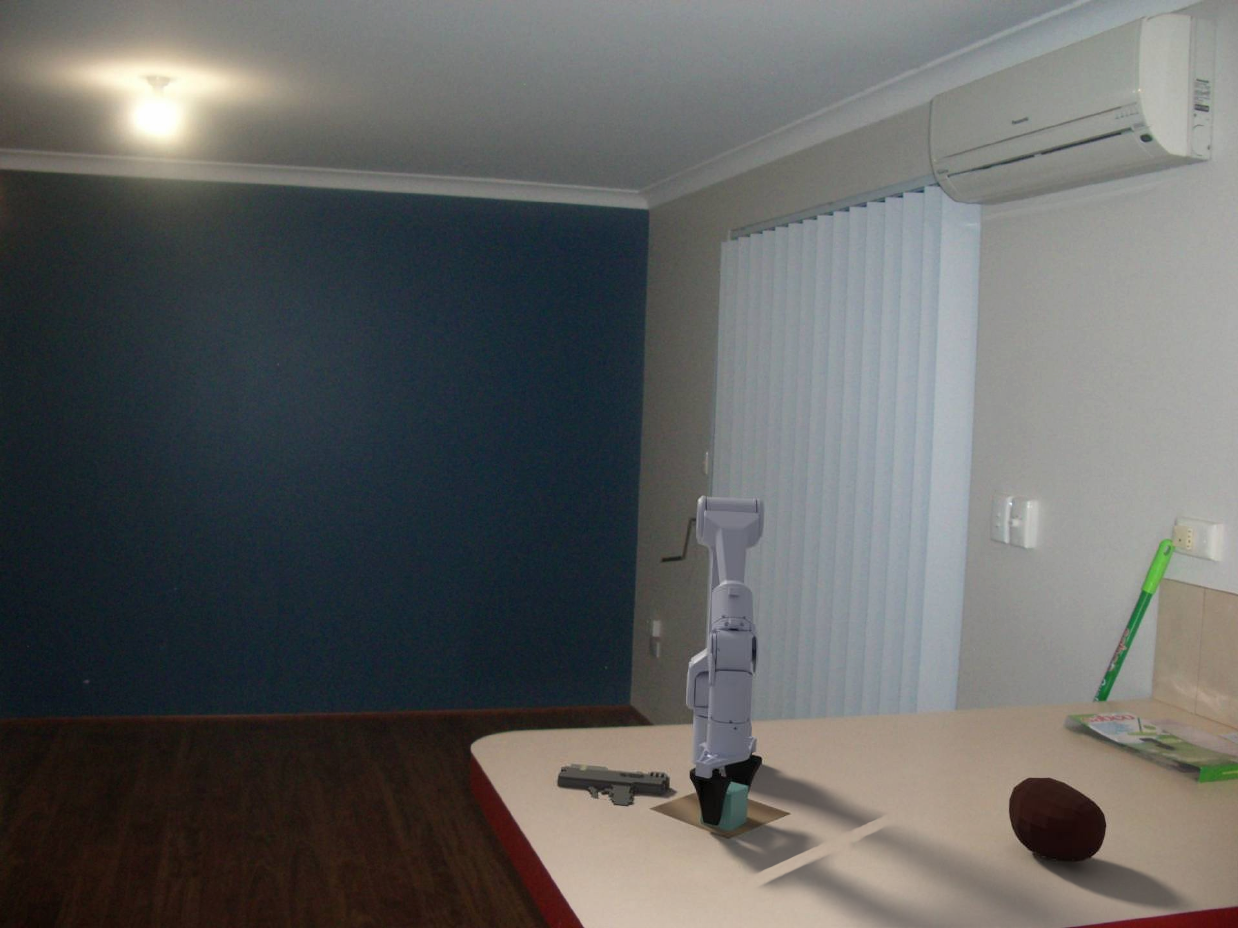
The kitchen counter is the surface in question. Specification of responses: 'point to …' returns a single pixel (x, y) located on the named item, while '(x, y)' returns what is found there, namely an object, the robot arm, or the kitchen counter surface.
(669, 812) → the board
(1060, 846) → the potato
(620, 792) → the toy gun
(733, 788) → the teal cube
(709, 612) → the robot arm
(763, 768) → the kitchen counter surface
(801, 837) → the kitchen counter surface
